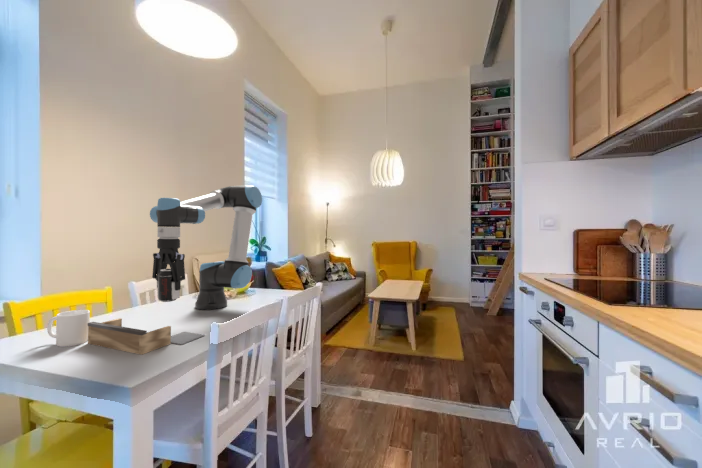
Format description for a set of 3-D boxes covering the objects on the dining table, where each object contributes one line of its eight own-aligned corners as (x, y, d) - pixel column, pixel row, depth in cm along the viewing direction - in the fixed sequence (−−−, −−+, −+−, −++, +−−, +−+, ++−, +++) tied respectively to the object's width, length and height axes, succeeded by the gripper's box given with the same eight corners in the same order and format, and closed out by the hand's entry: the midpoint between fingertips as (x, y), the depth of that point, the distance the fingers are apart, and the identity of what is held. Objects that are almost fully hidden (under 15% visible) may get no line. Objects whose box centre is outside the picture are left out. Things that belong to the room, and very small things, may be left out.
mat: (184, 332, 114) (184, 331, 114) (204, 335, 111) (204, 334, 111) (159, 341, 105) (159, 340, 105) (181, 345, 102) (181, 343, 102)
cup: (76, 346, 98) (77, 315, 98) (35, 347, 97) (36, 316, 97) (95, 338, 107) (95, 309, 107) (57, 338, 105) (58, 310, 105)
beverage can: (180, 300, 115) (180, 269, 115) (159, 303, 111) (159, 271, 111) (176, 297, 120) (176, 267, 120) (156, 300, 116) (156, 269, 116)
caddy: (119, 334, 111) (119, 315, 111) (170, 343, 102) (171, 323, 102) (87, 343, 101) (87, 323, 101) (141, 354, 93) (141, 332, 93)
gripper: (140, 237, 115) (140, 297, 115) (179, 239, 108) (179, 302, 109) (159, 237, 122) (158, 293, 122) (196, 238, 116) (196, 297, 116)
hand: (168, 297), depth 116 cm, fingers closed on beverage can, 7 cm apart
